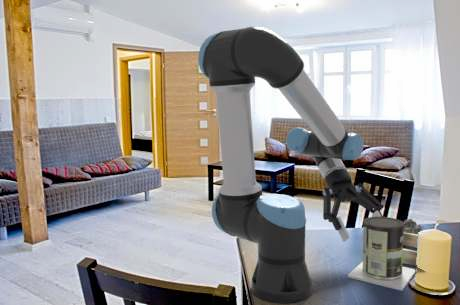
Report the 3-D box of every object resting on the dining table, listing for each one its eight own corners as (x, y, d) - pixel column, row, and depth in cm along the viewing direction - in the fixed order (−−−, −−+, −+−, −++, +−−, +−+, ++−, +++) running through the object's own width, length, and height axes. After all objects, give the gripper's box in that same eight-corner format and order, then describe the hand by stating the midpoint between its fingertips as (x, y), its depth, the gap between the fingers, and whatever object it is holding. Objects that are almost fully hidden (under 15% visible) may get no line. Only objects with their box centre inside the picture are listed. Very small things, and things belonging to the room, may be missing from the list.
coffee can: (398, 265, 119) (400, 217, 117) (405, 281, 109) (407, 228, 107) (360, 263, 121) (361, 215, 120) (363, 279, 111) (365, 226, 110)
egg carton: (411, 229, 154) (412, 218, 153) (426, 235, 147) (427, 224, 146) (386, 231, 151) (386, 220, 151) (399, 238, 144) (400, 226, 144)
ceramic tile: (347, 277, 114) (347, 275, 114) (365, 260, 125) (365, 258, 125) (402, 290, 106) (402, 288, 106) (416, 271, 117) (416, 269, 117)
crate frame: (363, 254, 130) (364, 242, 129) (380, 239, 142) (380, 228, 142) (420, 266, 120) (420, 253, 120) (432, 249, 133) (433, 237, 132)
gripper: (361, 177, 140) (393, 235, 129) (295, 185, 131) (323, 248, 119) (373, 164, 135) (407, 223, 123) (305, 171, 125) (335, 236, 114)
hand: (366, 236), depth 121 cm, fingers open, 13 cm apart
